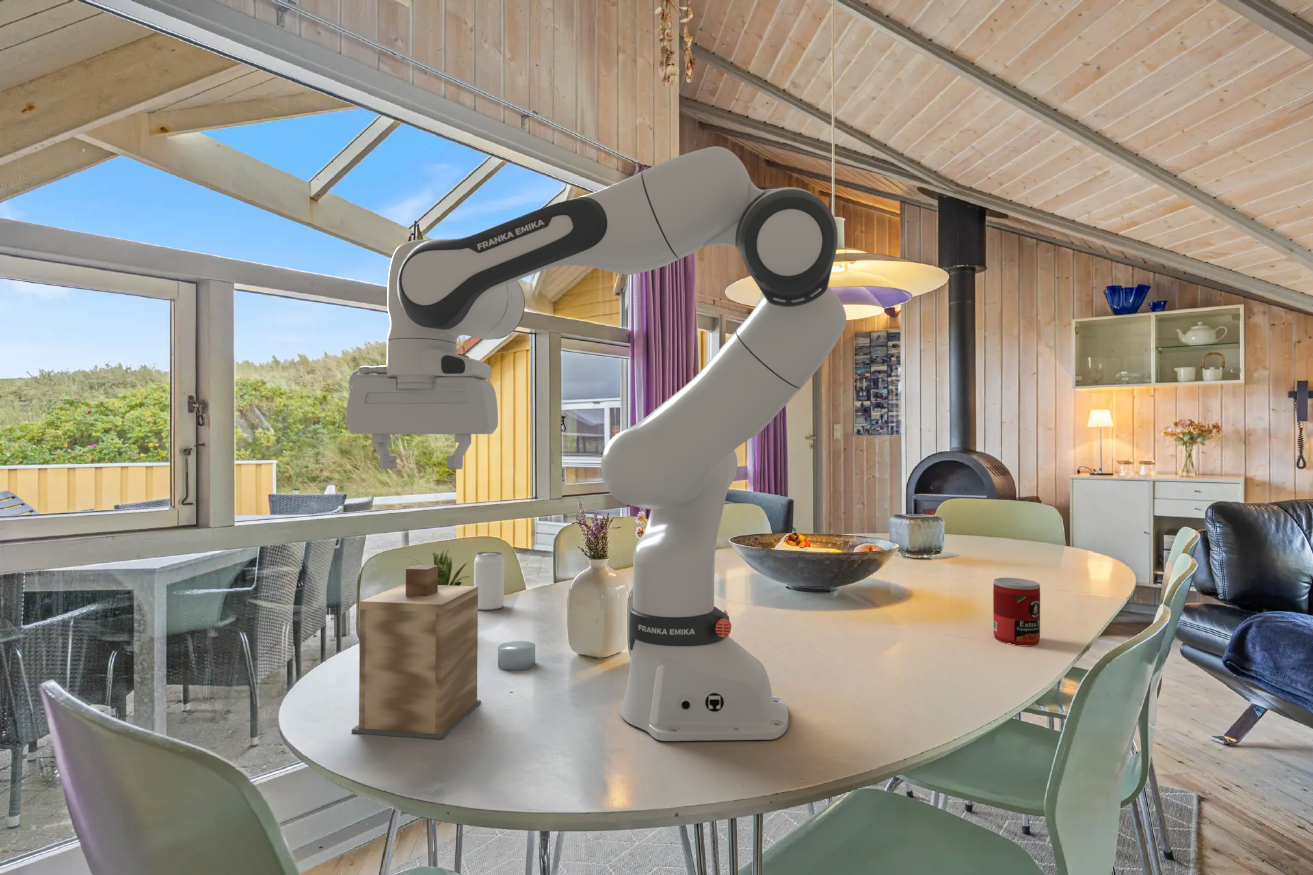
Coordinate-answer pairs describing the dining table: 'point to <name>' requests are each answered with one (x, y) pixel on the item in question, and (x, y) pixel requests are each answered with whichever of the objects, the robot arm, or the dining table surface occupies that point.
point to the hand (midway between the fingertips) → (421, 468)
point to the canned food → (1016, 611)
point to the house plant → (445, 569)
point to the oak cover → (418, 654)
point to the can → (489, 579)
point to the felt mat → (416, 734)
